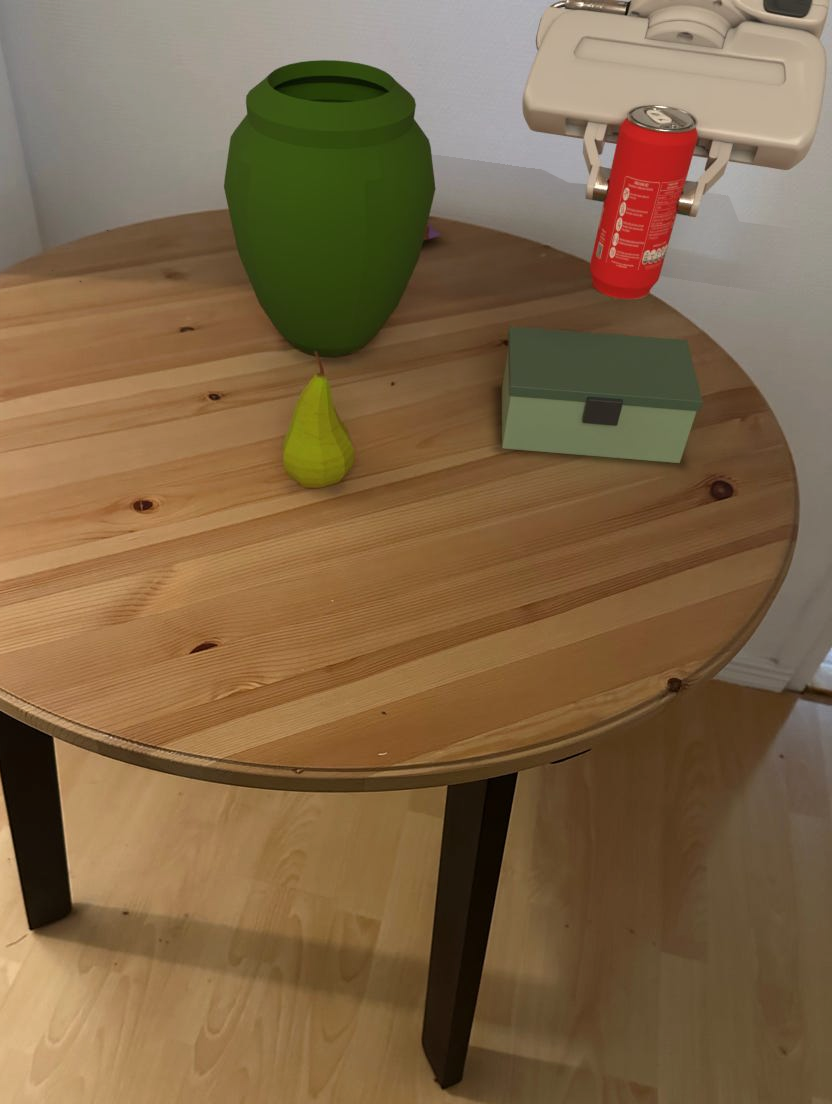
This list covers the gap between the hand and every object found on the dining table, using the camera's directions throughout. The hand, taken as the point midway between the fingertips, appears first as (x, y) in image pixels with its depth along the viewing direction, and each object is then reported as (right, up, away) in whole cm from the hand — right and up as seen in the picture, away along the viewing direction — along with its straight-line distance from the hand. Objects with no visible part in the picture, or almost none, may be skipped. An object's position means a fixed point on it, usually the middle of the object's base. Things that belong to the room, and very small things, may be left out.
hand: (641, 205), depth 70 cm
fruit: (-24, -17, +16) cm, 33 cm away
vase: (-23, 0, +32) cm, 40 cm away
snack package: (-15, +19, +51) cm, 56 cm away
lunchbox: (+2, -11, +23) cm, 25 cm away
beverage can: (0, -4, +5) cm, 7 cm away
